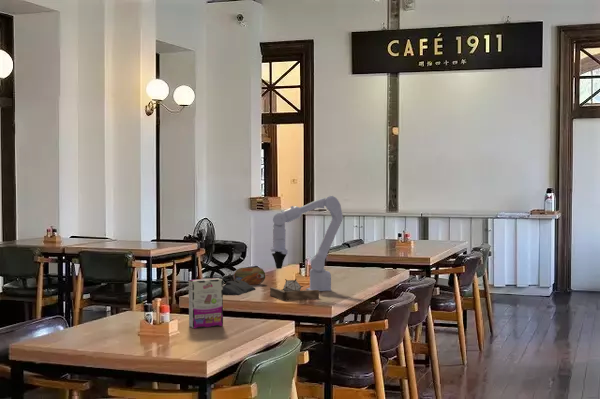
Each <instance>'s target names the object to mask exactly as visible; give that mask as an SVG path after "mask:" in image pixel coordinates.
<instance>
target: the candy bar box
mask: <svg viewBox="0 0 600 399" xmlns="http://www.w3.org/2000/svg"><path fill="white" fill-rule="evenodd" d="M223 282H224V281H223V279H222V278H220V277H214V278H213V277H211V278H200V279H199V278H198V279H189V280H188V327H190V328H192V329H204V328H214V327H215V328H216V327H222V326H223V325H224V303H223V302H224V294H223V286H224V284H223Z"/></svg>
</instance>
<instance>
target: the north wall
mask: <svg viewBox="0 0 600 399" xmlns="http://www.w3.org/2000/svg"><path fill="white" fill-rule="evenodd" d="M284 294H286V292H283V296H284ZM286 296H287V298H285V299H287V300H285V299H284V298H283V300H282V301H293V300H294V301H296V300H297V301H299V300H312V299H314V300H315V299H320V291H319V290H307V289H306V290H300V291H287V294H286ZM286 296H284V297H286Z"/></svg>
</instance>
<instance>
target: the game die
mask: <svg viewBox="0 0 600 399" xmlns="http://www.w3.org/2000/svg"><path fill="white" fill-rule="evenodd" d="M284 280H285V283H284V286H283V289H281V290H283V291H285V292H287V291H301V289H302V288H304V285H301V284H300V283H299V282H298V280H297V278H295V279H292V280H291V279H290V280H287V279H286V278H285V279H284Z"/></svg>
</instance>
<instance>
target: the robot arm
mask: <svg viewBox="0 0 600 399" xmlns="http://www.w3.org/2000/svg"><path fill="white" fill-rule="evenodd" d="M325 208H326V209H327V210H328V211H329V214H330V216H331V221H330V222H329V225H328V227H327V229H326V231H325V234H324V236H323V239H322V241H321V243H320V246H319V247H318V249H317V252H316V254H315V255H314V256H312V258H311V260H310V267H311V269H310V270H309V287H308V288H307V287H306V288H305V289H306V290H319V292H329V291H330V292H332V274H331V272H330V271H329V270H326V269H325V267H326V266H325V265H326V263H325V262H326V259H327V256H328V253H329V251H330V249H331V246H332V244H333V241H334V240H335V238H336V235H337V233H338V231H339V229H340V226H341V224H342V222H343V219H344V216H343V210H342V206H341V203H340V201H339V199H338V198H337V197H336V196H334V195H329V196H327V197H322V198H319V199H316V200H313V201H311V202H308V203H307V204H305V205H303V206H297V205H295V206H294V205H292V206H290V208H287V209H285V210H284V209H282V210H281V212H277V213H276V214H274V215H273V217H272V222H273V226H272V227H273V228H272V247H270V251H271V252H273V253H271V256H272V257H273V260H274V263H275V268H276V269H282V267H283V265H284V261H285V258H286V257H287V255H288V252H289V251H288V249H286V223H290V222H293V221H295V220H297V219H300V218H301V217H302V215H303V214H305V213H307V212H310V211H312V210H315V209H325Z"/></svg>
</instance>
